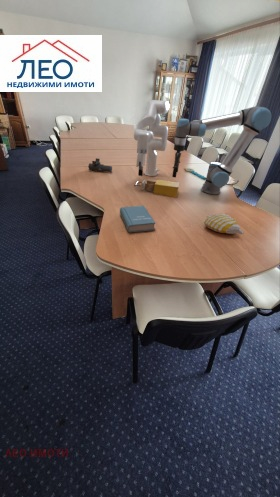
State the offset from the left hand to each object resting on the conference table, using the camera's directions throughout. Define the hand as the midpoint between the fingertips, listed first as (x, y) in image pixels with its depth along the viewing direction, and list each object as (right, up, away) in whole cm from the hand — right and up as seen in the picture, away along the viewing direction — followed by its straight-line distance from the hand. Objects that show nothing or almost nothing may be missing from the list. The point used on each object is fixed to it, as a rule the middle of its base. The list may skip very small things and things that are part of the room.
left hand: (140, 175), depth 175 cm
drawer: (+7, -10, +5) cm, 13 cm away
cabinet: (+21, -13, +3) cm, 25 cm away
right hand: (+26, -1, -7) cm, 27 cm away
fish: (+50, -47, -39) cm, 79 cm away
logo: (+56, +18, +49) cm, 77 cm away
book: (-3, -41, -37) cm, 56 cm away
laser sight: (-39, +16, +37) cm, 56 cm away
